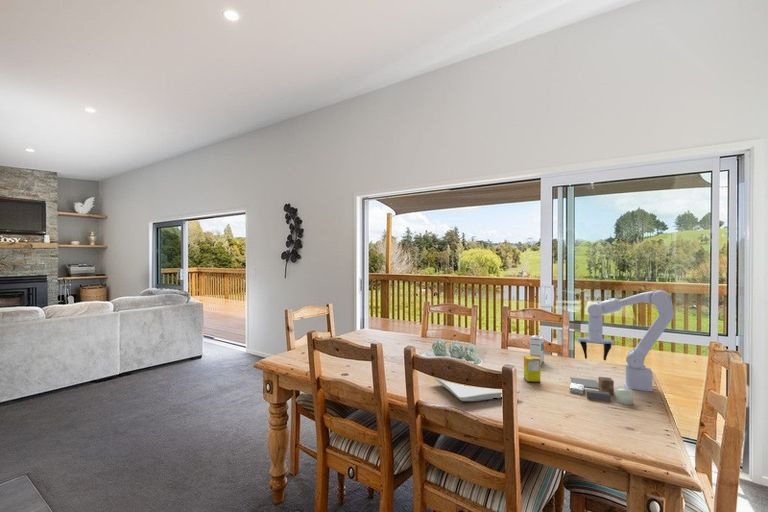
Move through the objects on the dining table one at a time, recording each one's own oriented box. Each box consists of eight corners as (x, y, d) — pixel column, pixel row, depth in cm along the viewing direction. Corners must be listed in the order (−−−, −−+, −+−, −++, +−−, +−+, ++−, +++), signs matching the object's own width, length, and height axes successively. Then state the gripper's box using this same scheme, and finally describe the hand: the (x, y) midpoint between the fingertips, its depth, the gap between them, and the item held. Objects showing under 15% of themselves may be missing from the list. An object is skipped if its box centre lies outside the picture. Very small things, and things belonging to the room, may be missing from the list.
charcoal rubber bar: (608, 399, 151) (608, 392, 150) (610, 402, 148) (610, 394, 148) (586, 396, 154) (586, 389, 154) (587, 399, 151) (587, 392, 151)
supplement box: (536, 378, 175) (536, 355, 174) (540, 383, 169) (540, 359, 169) (523, 378, 175) (523, 355, 175) (527, 382, 169) (527, 358, 169)
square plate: (460, 406, 143) (460, 396, 143) (431, 383, 170) (431, 374, 170) (520, 399, 151) (520, 389, 151) (484, 377, 177) (484, 369, 177)
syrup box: (541, 365, 195) (541, 338, 195) (529, 363, 198) (529, 336, 198) (544, 363, 199) (544, 336, 199) (532, 361, 203) (532, 334, 203)
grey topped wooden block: (571, 388, 164) (571, 382, 164) (584, 390, 161) (584, 384, 161) (569, 393, 158) (569, 387, 158) (582, 395, 155) (582, 389, 155)
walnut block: (610, 391, 159) (610, 377, 159) (613, 395, 154) (613, 381, 154) (598, 390, 160) (598, 376, 160) (601, 394, 155) (601, 380, 155)
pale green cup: (630, 400, 149) (631, 387, 149) (634, 406, 144) (634, 393, 144) (613, 398, 152) (613, 385, 152) (616, 403, 146) (616, 390, 146)
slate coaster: (596, 381, 171) (596, 380, 171) (600, 389, 161) (600, 388, 161) (570, 378, 175) (570, 377, 175) (572, 386, 165) (572, 384, 165)
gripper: (611, 329, 173) (611, 358, 174) (576, 326, 179) (576, 355, 179) (614, 332, 167) (614, 362, 167) (578, 329, 172) (578, 359, 173)
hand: (595, 359), depth 173 cm, fingers open, 7 cm apart
